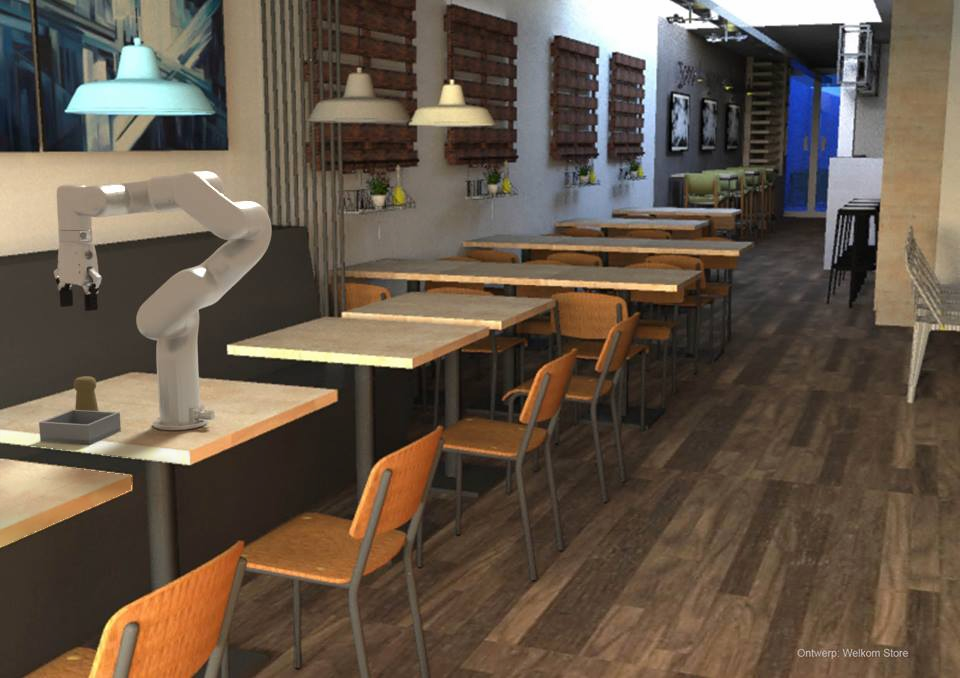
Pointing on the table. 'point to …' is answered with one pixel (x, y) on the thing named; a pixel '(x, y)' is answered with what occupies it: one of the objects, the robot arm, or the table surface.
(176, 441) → the table surface
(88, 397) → the cork
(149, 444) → the table surface
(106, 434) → the box
